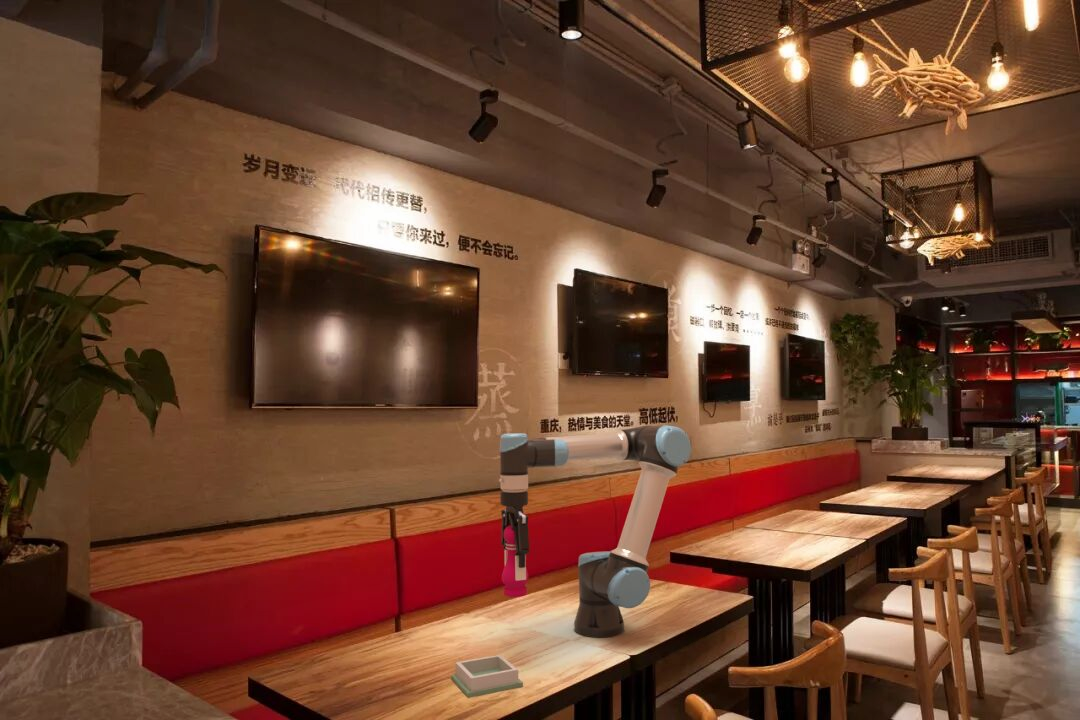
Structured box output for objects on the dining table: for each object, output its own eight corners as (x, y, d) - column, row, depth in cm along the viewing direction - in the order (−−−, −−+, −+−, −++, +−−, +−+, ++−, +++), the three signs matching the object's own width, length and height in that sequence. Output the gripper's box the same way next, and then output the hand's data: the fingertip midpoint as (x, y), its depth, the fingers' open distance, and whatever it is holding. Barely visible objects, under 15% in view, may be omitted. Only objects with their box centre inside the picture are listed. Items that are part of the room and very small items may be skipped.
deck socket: (503, 669, 181) (503, 653, 181) (523, 686, 169) (522, 669, 169) (451, 678, 175) (451, 662, 175) (467, 697, 163) (467, 679, 163)
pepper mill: (525, 598, 183) (524, 520, 185) (498, 597, 185) (497, 520, 186) (531, 591, 190) (530, 516, 192) (505, 590, 192) (504, 516, 193)
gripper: (488, 488, 197) (489, 570, 195) (515, 494, 179) (516, 586, 177) (513, 486, 200) (514, 568, 198) (541, 493, 182) (543, 583, 180)
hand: (515, 576), depth 188 cm, fingers closed on pepper mill, 7 cm apart
